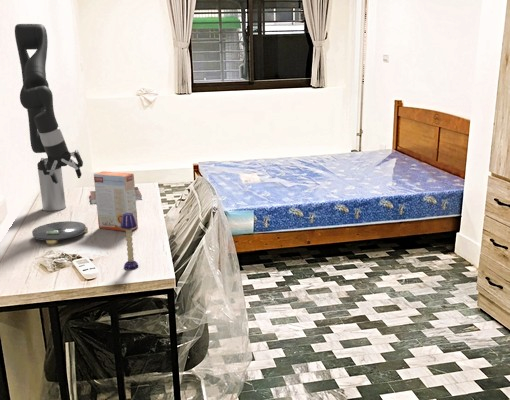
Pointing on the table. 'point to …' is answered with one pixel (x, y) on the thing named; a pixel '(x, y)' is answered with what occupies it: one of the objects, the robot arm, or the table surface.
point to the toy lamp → (129, 238)
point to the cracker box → (114, 198)
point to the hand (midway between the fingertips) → (68, 180)
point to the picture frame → (93, 195)
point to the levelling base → (59, 231)
